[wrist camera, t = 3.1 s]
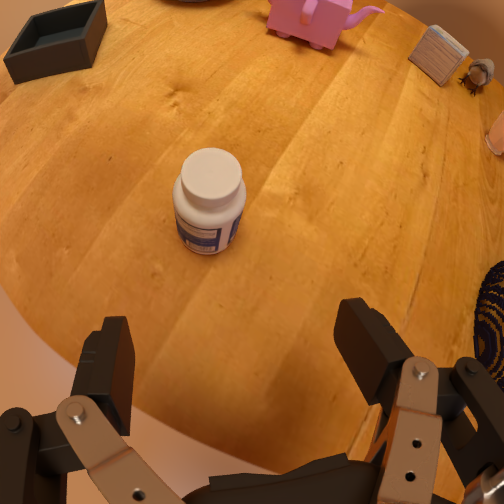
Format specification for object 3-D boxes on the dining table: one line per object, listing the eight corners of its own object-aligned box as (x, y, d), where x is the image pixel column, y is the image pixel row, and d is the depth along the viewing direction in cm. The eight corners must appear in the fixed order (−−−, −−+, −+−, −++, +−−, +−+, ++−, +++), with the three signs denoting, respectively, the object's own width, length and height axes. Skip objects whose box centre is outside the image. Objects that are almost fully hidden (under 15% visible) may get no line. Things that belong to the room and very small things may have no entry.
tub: (14, 84, 32) (2, 59, 27) (38, 39, 35) (30, 15, 30) (91, 67, 34) (84, 38, 29) (107, 24, 37) (103, -2, 32)
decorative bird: (488, 82, 51) (505, 63, 44) (473, 100, 46) (494, 77, 39) (472, 66, 52) (488, 46, 45) (453, 80, 47) (473, 56, 40)
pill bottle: (215, 191, 31) (223, 127, 22) (247, 236, 30) (269, 184, 21) (166, 219, 29) (155, 160, 20) (197, 267, 28) (197, 224, 19)
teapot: (320, 12, 46) (338, -34, 35) (362, 56, 43) (389, 6, 32) (242, 14, 42) (252, -41, 31) (279, 60, 39) (298, -3, 28)
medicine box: (447, 81, 46) (470, 52, 38) (440, 87, 44) (465, 56, 36) (415, 53, 47) (436, 23, 39) (406, 58, 45) (428, 25, 37)
